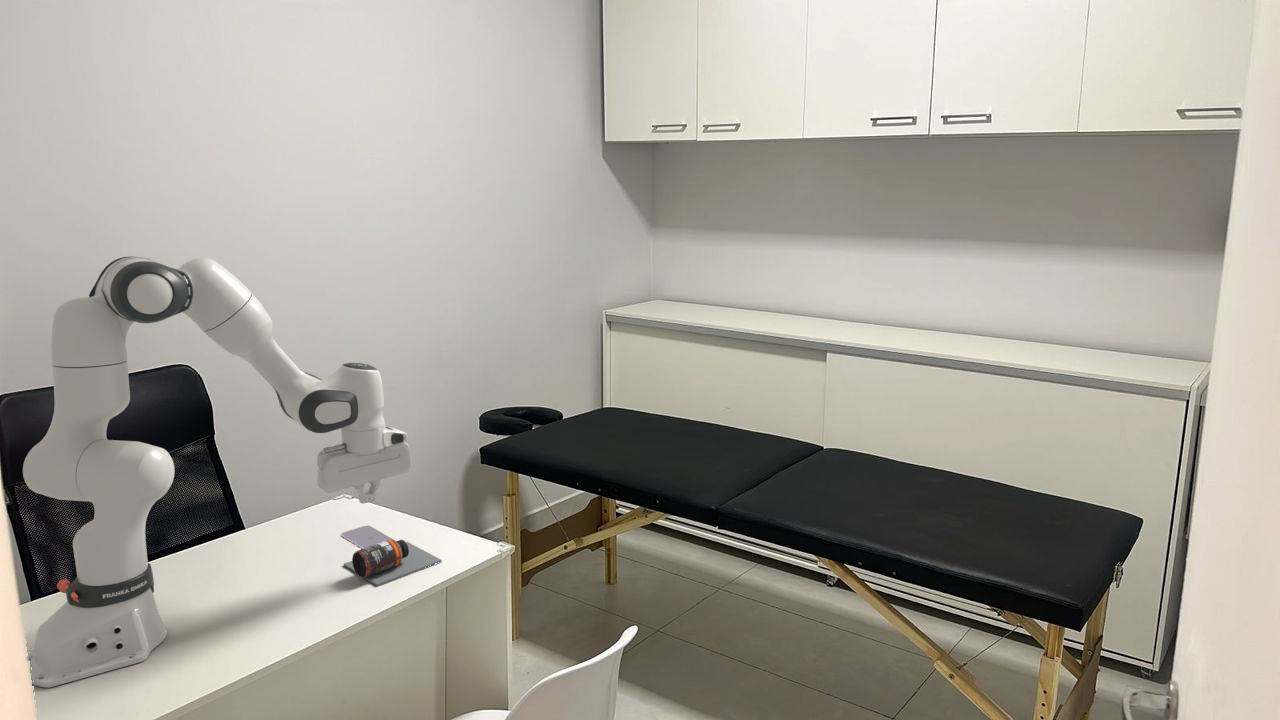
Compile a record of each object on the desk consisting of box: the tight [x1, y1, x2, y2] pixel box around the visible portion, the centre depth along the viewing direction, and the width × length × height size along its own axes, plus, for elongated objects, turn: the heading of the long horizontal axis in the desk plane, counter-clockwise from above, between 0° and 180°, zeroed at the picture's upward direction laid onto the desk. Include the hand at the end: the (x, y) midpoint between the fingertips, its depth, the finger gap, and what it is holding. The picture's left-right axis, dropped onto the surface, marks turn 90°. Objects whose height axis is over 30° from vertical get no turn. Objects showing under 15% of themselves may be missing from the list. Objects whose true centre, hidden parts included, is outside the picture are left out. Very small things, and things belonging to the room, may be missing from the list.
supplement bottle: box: [351, 539, 409, 579], centre depth 191 cm, size 6×6×11 cm
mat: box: [343, 541, 443, 587], centre depth 195 cm, size 16×14×1 cm
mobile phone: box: [341, 525, 397, 550], centre depth 207 cm, size 8×1×15 cm
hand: (367, 501), depth 187 cm, fingers closed
